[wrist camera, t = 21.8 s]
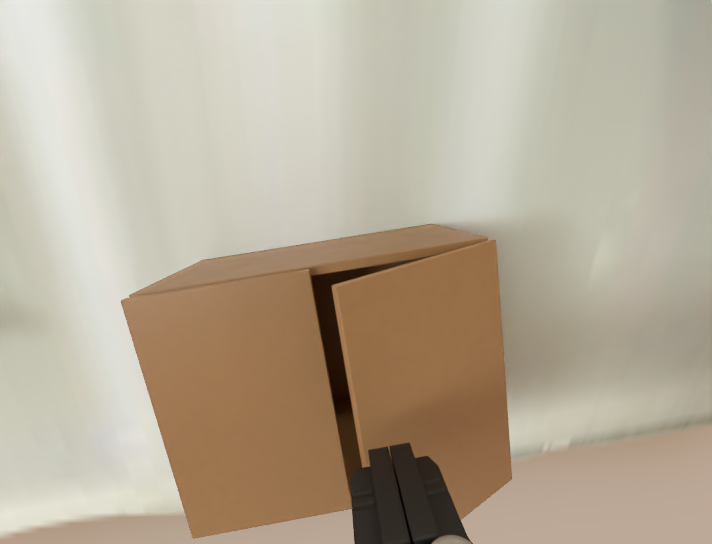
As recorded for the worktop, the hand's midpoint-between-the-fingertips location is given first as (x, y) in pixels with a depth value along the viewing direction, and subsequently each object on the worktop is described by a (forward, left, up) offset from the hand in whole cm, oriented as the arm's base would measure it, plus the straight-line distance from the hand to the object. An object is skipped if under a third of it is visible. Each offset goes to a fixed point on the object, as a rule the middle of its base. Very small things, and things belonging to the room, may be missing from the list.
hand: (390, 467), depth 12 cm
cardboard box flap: (-3, 0, -3) cm, 4 cm away
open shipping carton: (+2, 0, -15) cm, 15 cm away
